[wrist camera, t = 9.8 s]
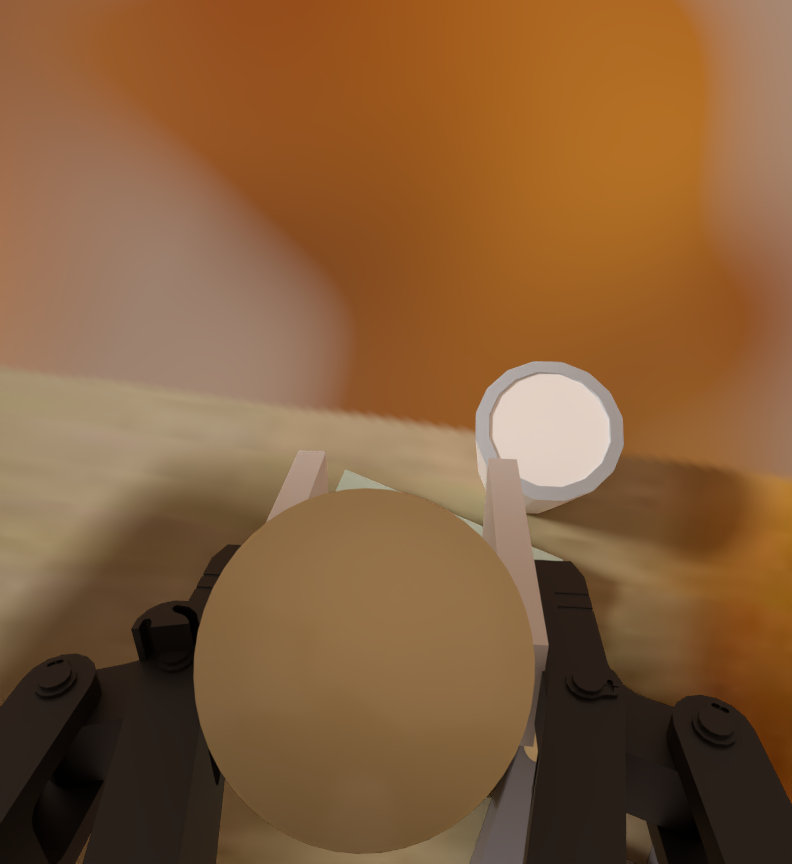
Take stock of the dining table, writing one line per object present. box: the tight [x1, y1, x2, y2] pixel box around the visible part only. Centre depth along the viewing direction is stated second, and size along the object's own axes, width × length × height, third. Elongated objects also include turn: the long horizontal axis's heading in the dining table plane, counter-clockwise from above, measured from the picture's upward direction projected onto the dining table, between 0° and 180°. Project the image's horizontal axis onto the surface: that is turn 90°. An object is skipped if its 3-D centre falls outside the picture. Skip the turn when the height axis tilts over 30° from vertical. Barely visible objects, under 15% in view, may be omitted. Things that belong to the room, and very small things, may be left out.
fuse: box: [193, 488, 535, 854], centre depth 15 cm, size 5×5×13 cm
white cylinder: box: [476, 361, 624, 514], centre depth 32 cm, size 7×7×7 cm
